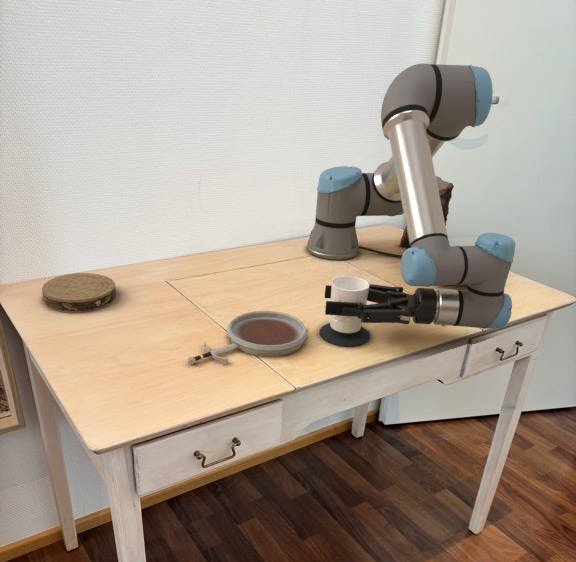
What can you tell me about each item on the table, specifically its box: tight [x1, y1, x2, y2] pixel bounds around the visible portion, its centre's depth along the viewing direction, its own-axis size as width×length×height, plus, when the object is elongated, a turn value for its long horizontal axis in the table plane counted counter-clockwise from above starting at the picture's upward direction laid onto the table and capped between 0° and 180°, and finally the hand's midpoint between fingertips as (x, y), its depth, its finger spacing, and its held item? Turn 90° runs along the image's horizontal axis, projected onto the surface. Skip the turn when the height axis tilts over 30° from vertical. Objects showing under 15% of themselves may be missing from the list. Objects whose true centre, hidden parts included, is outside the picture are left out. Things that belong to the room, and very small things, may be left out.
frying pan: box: [187, 310, 308, 365], centre depth 119 cm, size 17×3×28 cm
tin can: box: [41, 272, 117, 314], centre depth 134 cm, size 16×16×3 cm
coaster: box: [319, 322, 371, 348], centre depth 126 cm, size 11×11×1 cm
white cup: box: [329, 275, 370, 333], centre depth 122 cm, size 8×8×10 cm
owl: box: [399, 175, 455, 249], centre depth 174 cm, size 13×13×20 cm
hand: (325, 299), depth 122 cm, fingers closed on white cup, 8 cm apart
